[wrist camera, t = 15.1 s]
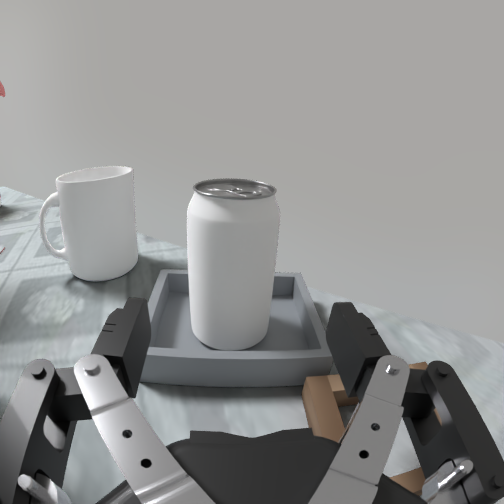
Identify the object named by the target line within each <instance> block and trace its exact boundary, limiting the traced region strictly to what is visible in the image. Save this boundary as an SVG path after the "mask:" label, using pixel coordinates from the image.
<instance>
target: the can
mask: <svg viewBox="0 0 504 504" xmlns="http://www.w3.org/2000/svg"><path fill="white" fill-rule="evenodd" d="M193 189H194V195H193V197H192V199H191V201H190V203H189V205H188V209H187V251H188V279H189V298H190V314H191V325H192V330H193V333H194V335H195V336H196V337H197V338H198V339H199V340H200V341H201V342H202V343H204V344H205V345H207V346H209V347H211V348H213V349H216V350H220V351H241V350H245V349H248V348H251V347H252V346H254V345H256V344H257V343H259V342H260V341H261V340H262V339H263V338H264V337H265V335H266V333H267V330H268V324H269V316H270V308H271V300H272V291H273V283H274V274H275V265H276V255H277V246H278V235H279V225H280V224H279V223H280V210H279V206H278V204H277V202H276V199H275V193H276V188H275V187H273V186H271V185H269V184H266V183H263V182H259V181H252V180H245V179H213V180H206V181H201V182H198V183H196V184H195V185H194V186H193Z"/></svg>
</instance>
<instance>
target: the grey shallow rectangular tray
mask: <svg viewBox="0 0 504 504" xmlns="http://www.w3.org/2000/svg"><path fill="white" fill-rule="evenodd" d="M148 310H149V317H150V324H151V341H150V344H149V348H148V352H147V355H146V359H145V363H144V366H143V370H142V374H141V378H140V382H149V383H159V384H171V385H186V386H206V387H277V386H297V385H304V383H305V380H306V377H312V376H325V375H329V373H330V370H331V367H332V364H333V361H334V360H333V357H332V355H331V352H330V350H329V347H328V345H327V341H326V332H325V329H324V327H323V325H322V322H321V320H320V317H319V315H318V312H317V310H316V308H315V305H314V303H313V300H312V298H311V296H310V293H309V291H308V289H307V286H306V284H305V281H304V279H303V277H302V274H301V273H281V272H279V273H278V272H275V274H274V283H273V291H272V300H271V308H270V316H269V324H268V330H267V333H266V335H265V337H264V338H263V339H262V340H261V341H260V342H259V343H257V344H256V345H254V346H252V347H251V348H248V349H245V350H241V351H220V350H216V349H213V348H211V347H209V346H207V345H205V344H204V343H202V342H201V341H200V340H199V339H198V338H197V337H196V336H195V335H194V333H193V330H192V325H191V314H190V298H189V279H188V270H176V269H161V271H160V273H159V276H158V278H157V281H156V283H155V286H154V288H153V291H152V294H151V296H150V299H149V301H148Z"/></svg>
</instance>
